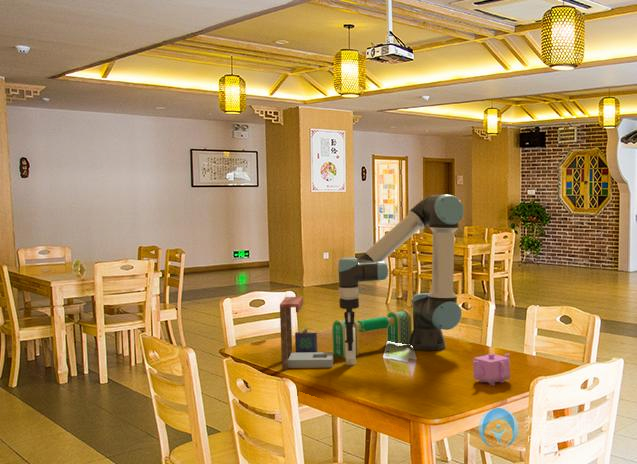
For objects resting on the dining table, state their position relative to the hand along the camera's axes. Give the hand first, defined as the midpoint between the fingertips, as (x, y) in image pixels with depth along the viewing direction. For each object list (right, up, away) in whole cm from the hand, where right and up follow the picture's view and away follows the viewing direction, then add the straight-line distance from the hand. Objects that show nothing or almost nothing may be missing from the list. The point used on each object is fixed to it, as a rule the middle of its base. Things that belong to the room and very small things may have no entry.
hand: (350, 357), depth 263 cm
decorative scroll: (+11, -1, +23) cm, 26 cm away
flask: (-18, -2, +19) cm, 26 cm away
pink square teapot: (+47, -3, -29) cm, 56 cm away
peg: (0, -3, 0) cm, 3 cm away
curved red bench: (-22, -3, +3) cm, 23 cm away
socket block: (-15, -3, +2) cm, 16 cm away
